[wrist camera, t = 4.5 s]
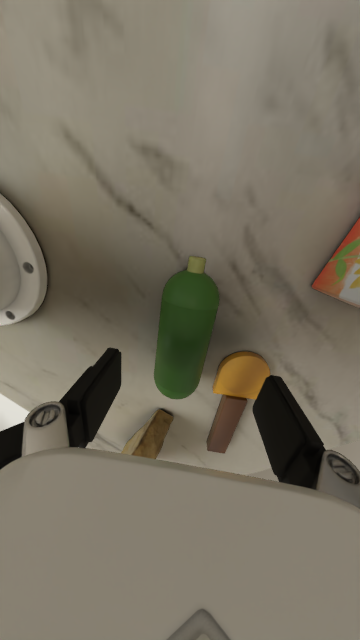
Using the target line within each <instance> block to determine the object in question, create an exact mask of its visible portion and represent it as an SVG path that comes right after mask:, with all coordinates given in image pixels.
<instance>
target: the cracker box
mask: <svg viewBox="0 0 360 640" xmlns="http://www.w3.org/2000/svg"><path fill="white" fill-rule="evenodd" d="M312 288H313V289H315V290H318V291H320V292H322V293H324V294H327V295H329V296H331V297H333V298H336V299H338V300H340V301H343V302H345V303H348V304H350V305H353V306H355V307H358V308H360V218H359V219H358V220H357V222H356V223H355V225H354V226H353V228H352V229H351V230H350V232H349V233H348V235H347V236H346V237H345V239H344V240H343V242H342V243H341V245H340V246H339V247H338V249H337V250H336V252H335V253H334V255H333V256H332V257H331V259H330V260H329V262H328V263H327V264H326V266H325V267H324V269H323V270H322V272H321V273H320V274H319V276H318V277H317V279H316V280H315V281H314V283H313V285H312Z"/></svg>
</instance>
